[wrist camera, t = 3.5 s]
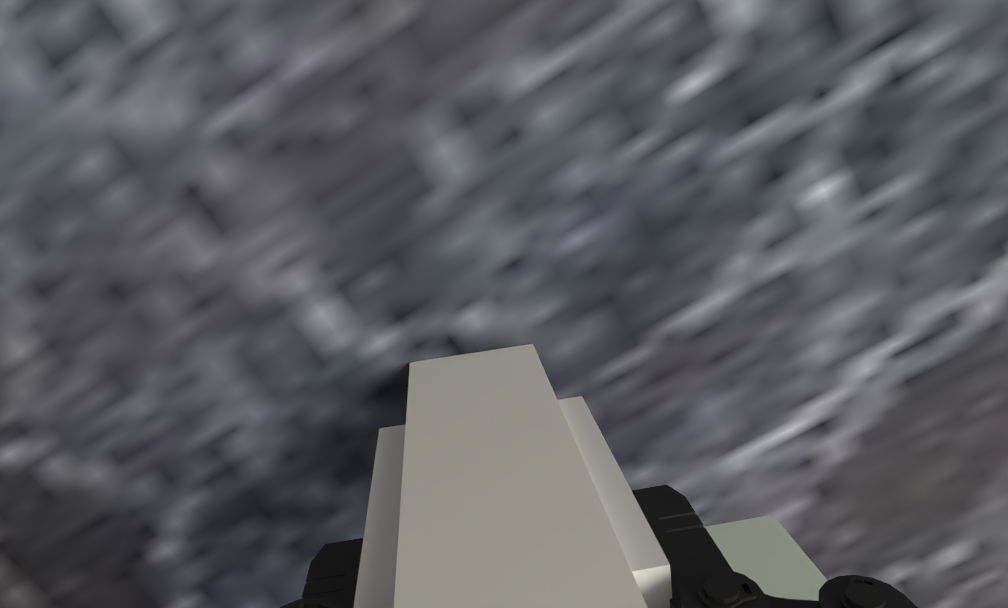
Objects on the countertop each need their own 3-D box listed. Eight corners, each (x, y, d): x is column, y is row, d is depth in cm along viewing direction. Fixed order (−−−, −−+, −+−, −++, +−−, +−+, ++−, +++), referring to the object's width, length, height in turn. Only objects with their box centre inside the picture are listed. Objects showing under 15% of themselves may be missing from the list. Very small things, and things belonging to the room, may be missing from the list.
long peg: (409, 362, 20) (385, 730, 8) (532, 343, 20) (677, 675, 8) (428, 472, 21) (431, 935, 9) (545, 453, 21) (689, 882, 9)
